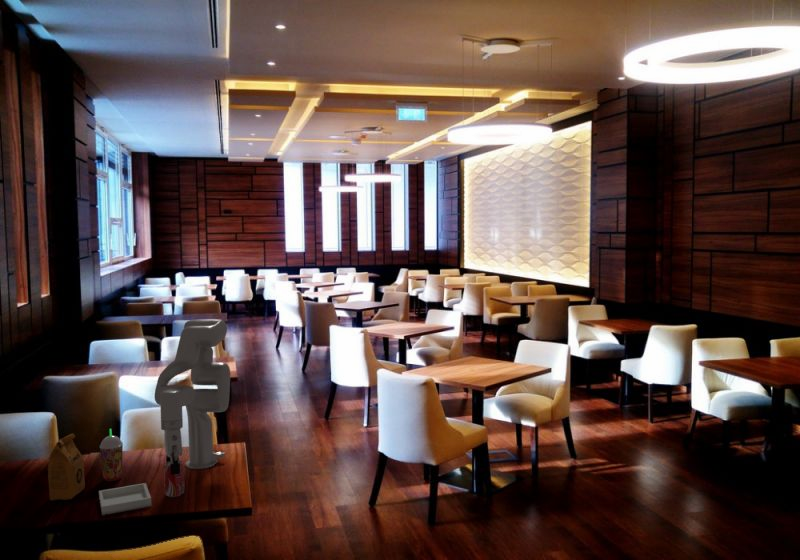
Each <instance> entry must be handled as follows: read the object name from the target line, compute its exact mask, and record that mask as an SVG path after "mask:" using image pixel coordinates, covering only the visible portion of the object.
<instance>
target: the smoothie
mask: <svg viewBox="0 0 800 560" xmlns="http://www.w3.org/2000/svg"><path fill="white" fill-rule="evenodd" d="M123 446H124V444H123V442H122V440H121V438H120V437H118V436H117V435H113V433H112V428H109V435H108V436H105V438H103V439H102V441H101V443H100V445H99V450H100V459H101V469H102V476H103V477H102V478H104V481H106V482H116V481H119V480H121V477H122V475H123V451H124V450H123Z"/></svg>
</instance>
